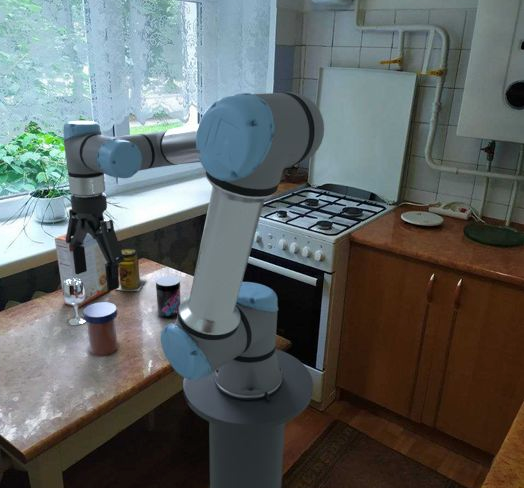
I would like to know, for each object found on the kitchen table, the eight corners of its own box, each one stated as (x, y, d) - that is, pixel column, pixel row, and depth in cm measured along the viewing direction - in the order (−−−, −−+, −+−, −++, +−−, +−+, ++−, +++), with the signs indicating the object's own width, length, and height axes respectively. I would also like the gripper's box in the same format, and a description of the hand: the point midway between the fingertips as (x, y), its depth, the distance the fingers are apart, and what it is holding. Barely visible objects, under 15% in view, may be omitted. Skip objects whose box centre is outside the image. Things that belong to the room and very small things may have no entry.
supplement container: (156, 319, 139) (155, 286, 135) (157, 308, 145) (156, 276, 141) (181, 318, 140) (180, 285, 136) (181, 307, 146) (180, 275, 142)
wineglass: (93, 319, 138) (88, 280, 134) (77, 328, 133) (73, 288, 129) (77, 314, 140) (72, 275, 136) (61, 323, 135) (56, 283, 131)
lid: (123, 315, 122) (123, 309, 121) (95, 327, 116) (95, 320, 116) (105, 305, 126) (104, 299, 126) (77, 316, 121) (76, 309, 120)
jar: (122, 347, 125) (119, 310, 121) (100, 358, 120) (96, 320, 116) (107, 338, 129) (104, 302, 125) (84, 348, 124) (80, 311, 120)
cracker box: (96, 286, 158) (90, 223, 150) (111, 290, 155) (105, 227, 147) (62, 303, 146) (53, 237, 138) (77, 308, 143) (69, 241, 136)
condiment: (115, 290, 155) (112, 254, 151) (125, 279, 163) (122, 245, 159) (138, 291, 155) (136, 256, 150) (146, 280, 162) (144, 246, 158)
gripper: (136, 201, 105) (142, 291, 113) (73, 180, 119) (81, 261, 127) (106, 208, 100) (114, 302, 108) (43, 185, 114) (54, 270, 122)
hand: (96, 280), depth 118 cm, fingers open, 13 cm apart
